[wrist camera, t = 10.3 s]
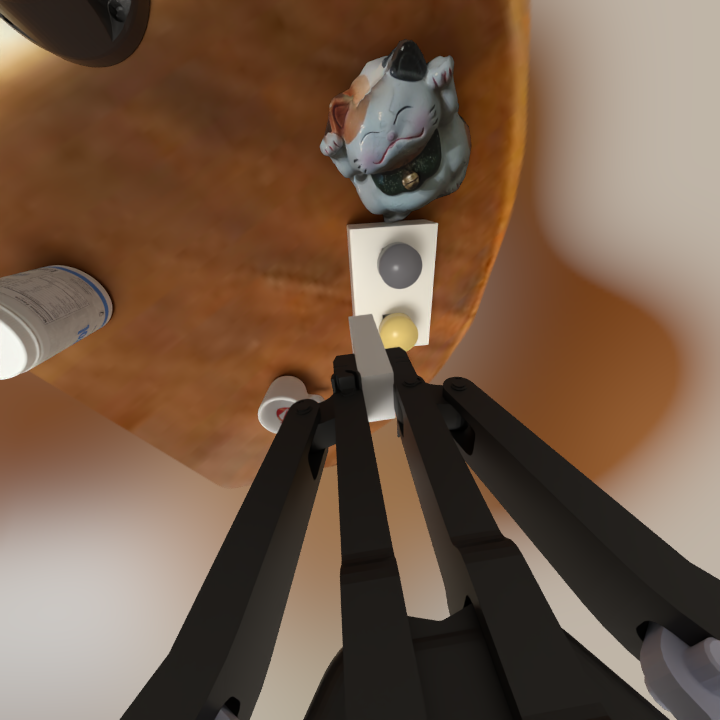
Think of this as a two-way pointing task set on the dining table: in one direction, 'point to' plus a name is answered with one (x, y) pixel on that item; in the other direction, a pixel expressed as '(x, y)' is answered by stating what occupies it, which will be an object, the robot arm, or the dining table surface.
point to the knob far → (398, 331)
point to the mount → (371, 288)
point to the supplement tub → (47, 315)
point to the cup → (282, 401)
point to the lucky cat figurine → (399, 132)
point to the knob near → (399, 265)
